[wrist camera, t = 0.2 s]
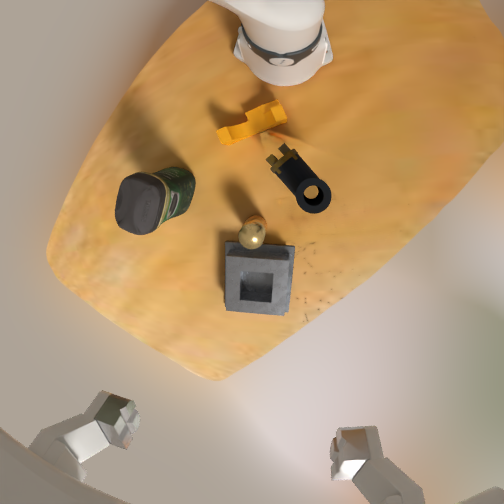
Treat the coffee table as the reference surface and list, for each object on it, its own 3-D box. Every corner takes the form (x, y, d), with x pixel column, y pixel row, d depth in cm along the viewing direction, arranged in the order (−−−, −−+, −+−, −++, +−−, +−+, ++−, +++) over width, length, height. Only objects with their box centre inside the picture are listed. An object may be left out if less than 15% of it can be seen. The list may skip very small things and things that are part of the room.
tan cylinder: (245, 214, 56) (238, 223, 48) (267, 215, 55) (264, 225, 48) (244, 235, 57) (238, 248, 50) (266, 237, 57) (263, 250, 49)
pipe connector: (269, 165, 53) (257, 159, 38) (290, 147, 51) (285, 135, 37) (308, 210, 53) (310, 221, 39) (329, 192, 52) (339, 197, 38)
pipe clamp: (278, 102, 48) (276, 95, 42) (286, 122, 49) (287, 117, 43) (220, 125, 51) (212, 122, 45) (228, 145, 52) (221, 144, 46)
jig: (226, 240, 58) (220, 248, 53) (294, 245, 57) (295, 253, 52) (225, 304, 63) (221, 315, 58) (288, 310, 62) (288, 322, 57)
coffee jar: (166, 162, 54) (117, 168, 37) (201, 174, 54) (162, 183, 37) (154, 206, 57) (105, 227, 40) (187, 218, 57) (147, 245, 40)
